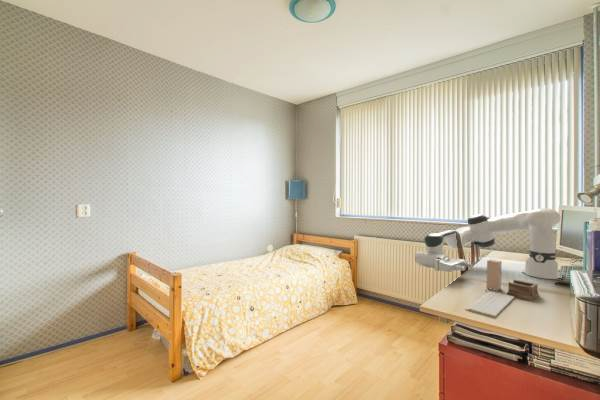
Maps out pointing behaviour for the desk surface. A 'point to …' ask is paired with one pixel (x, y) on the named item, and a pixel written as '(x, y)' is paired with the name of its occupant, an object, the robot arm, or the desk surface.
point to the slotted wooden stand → (523, 290)
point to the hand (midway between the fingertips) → (468, 267)
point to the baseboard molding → (490, 303)
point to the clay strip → (494, 274)
